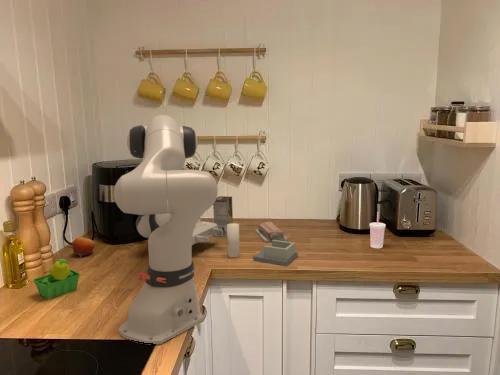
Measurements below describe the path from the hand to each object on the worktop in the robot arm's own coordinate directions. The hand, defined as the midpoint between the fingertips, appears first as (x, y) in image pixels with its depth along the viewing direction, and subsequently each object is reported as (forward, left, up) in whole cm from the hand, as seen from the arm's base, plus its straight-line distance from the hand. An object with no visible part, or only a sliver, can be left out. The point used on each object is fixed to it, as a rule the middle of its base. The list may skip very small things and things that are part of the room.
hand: (215, 236), depth 160 cm
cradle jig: (+4, -23, -7) cm, 24 cm away
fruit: (-23, +45, -7) cm, 51 cm away
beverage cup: (+33, -54, -7) cm, 63 cm away
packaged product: (+29, -10, -8) cm, 32 cm away
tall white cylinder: (0, -8, -7) cm, 10 cm away
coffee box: (+23, +10, -7) cm, 26 cm away
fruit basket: (-51, +24, -7) cm, 57 cm away
